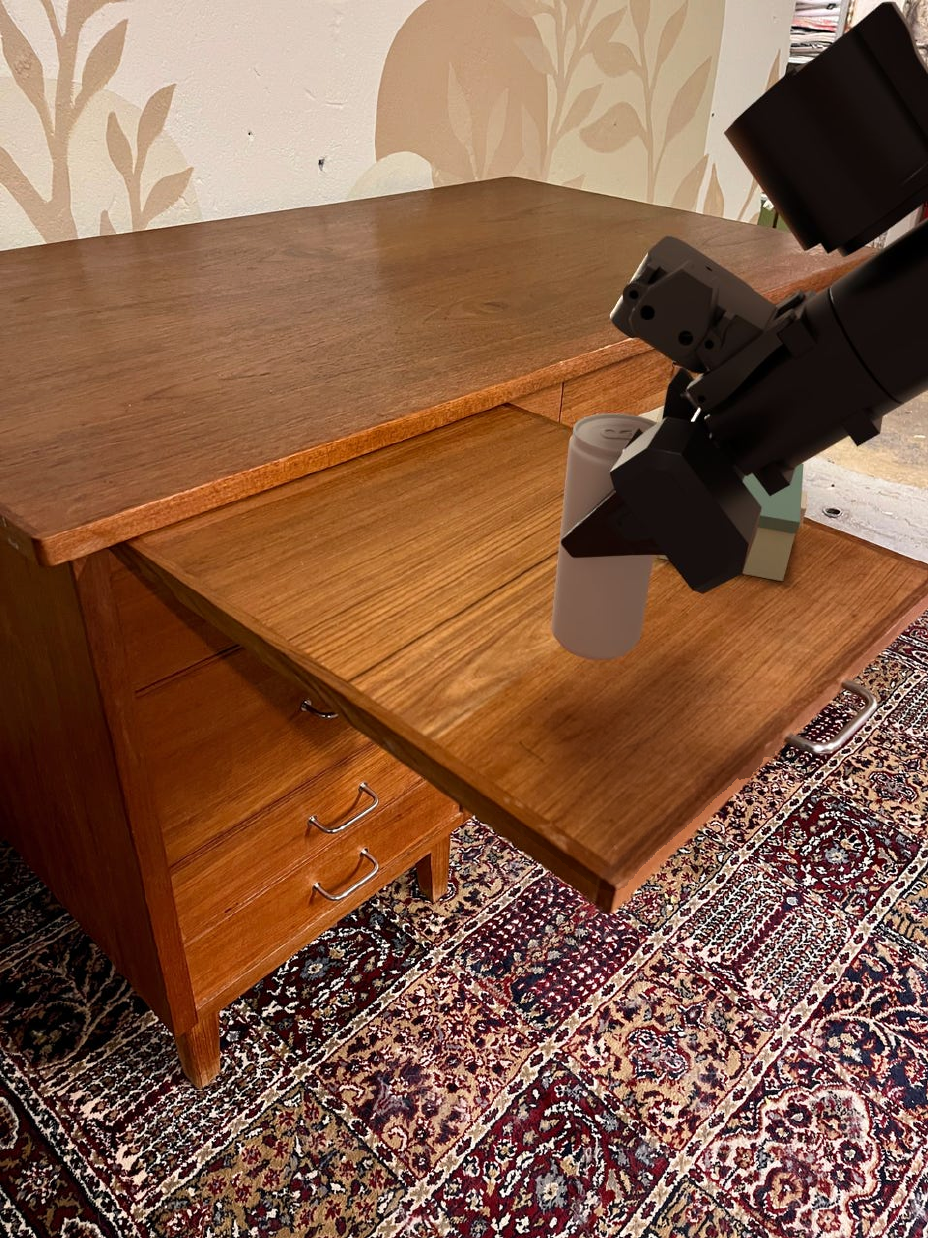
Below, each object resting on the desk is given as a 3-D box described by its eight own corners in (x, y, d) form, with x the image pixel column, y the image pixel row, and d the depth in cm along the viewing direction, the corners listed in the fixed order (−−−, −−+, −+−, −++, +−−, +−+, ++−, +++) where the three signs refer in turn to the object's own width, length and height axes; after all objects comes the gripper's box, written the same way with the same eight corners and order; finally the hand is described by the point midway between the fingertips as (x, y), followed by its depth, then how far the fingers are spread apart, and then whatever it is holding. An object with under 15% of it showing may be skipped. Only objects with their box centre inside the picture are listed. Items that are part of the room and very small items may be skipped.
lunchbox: (795, 520, 78) (810, 464, 75) (791, 583, 70) (807, 523, 67) (675, 500, 80) (685, 444, 77) (657, 558, 72) (667, 499, 69)
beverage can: (645, 667, 50) (681, 454, 43) (552, 664, 50) (574, 451, 43) (633, 615, 54) (664, 413, 47) (547, 612, 54) (566, 410, 47)
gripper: (784, 147, 45) (543, 344, 55) (708, 225, 31) (398, 474, 40) (914, 339, 47) (660, 497, 57) (900, 496, 33) (562, 672, 42)
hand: (582, 526), depth 49 cm, fingers closed on beverage can, 5 cm apart
